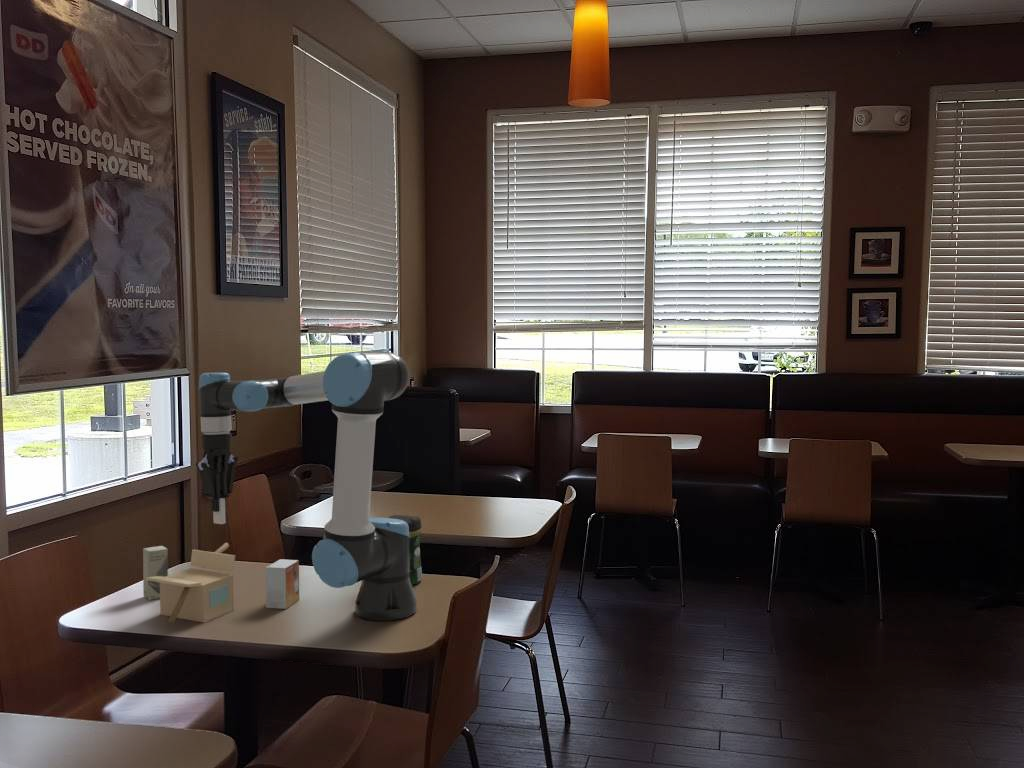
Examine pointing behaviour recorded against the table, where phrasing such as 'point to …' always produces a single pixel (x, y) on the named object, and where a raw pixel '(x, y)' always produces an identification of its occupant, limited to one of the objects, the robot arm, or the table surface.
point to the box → (154, 569)
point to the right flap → (213, 559)
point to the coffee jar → (413, 546)
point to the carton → (199, 595)
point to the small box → (282, 583)
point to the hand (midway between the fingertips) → (219, 523)
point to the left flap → (183, 595)
